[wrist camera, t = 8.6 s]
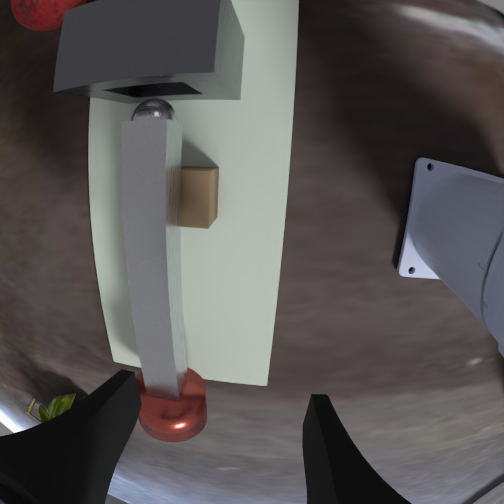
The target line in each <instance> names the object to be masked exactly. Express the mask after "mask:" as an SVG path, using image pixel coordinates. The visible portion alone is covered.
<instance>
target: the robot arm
mask: <svg viewBox="0 0 504 504" xmlns="http://www.w3.org/2000/svg"><path fill="white" fill-rule="evenodd" d="M429 163H430V164H431V169H430V170H428V169H427V165H428V164H429ZM410 267H413V269H412V271H411V272H408V270H409V268H410ZM397 271H398V273H399V274H400V275H401V276H403V277H417V278H431V279H441V280H442V281H443V282H444V283H445V284H446V285H447V286H448V287H449V288H450V289H451V290H452V291H453V293H454V294H455V295H456V296H457V297H458V298H459V299H460V300H461V301H462V302H463V303H464V304H465V305H466V306H467V307H468V308H469V309H470V311H471V312H472V313H473V314H474V315H475V316H476V317H477V318H478V319H479V320H480V322H481V323H482V324H483V325H484V326H485V327H486V328H487V329H488V330H489V332H490V333H491V334H492V335H493V337H494V338H495V339H496V340H497V341H498V344H499V348H498V351H499V352H500V353H501V355H502V356H503V357H504V179H502V178H499V177H496V176H493V175H489V174H486V173H483V172H479V171H475V170H472V169H468V168H464V167H461V166H457V165H453V164H449V163H445V162H440V161H436V160H432V159H427V158H418V159H417V160H416V163H415V169H414V178H413V185H412V192H411V199H410V205H409V211H408V217H407V223H406V228H405V234H404V239H403V244H402V249H401V253H400V258H399V262H398V267H397ZM141 406H142V402H141V398H140V394H139V390H138V386H137V381H136V377H135V373H134V372H131V371H127V370H123V369H121V370H120V371H119V372H117V373H116V374H115V375H114V376H112V377H111V378H110V379H109V380H107V381H106V382H105V383H104V384H102V385H101V386H100V387H99V388H97V389H96V390H95V391H94V392H92V393H91V394H90V395H88V396H87V397H86V398H84V399H83V400H81V401H80V402H79V403H77V404H76V405H74V406H73V407H71V408H70V409H68V410H67V411H65V412H63V413H62V414H60V415H58V416H56V417H54V418H52V419H50V420H48V421H46V422H44V423H41V424H39V425H37V426H34V427H32V428H29V429H26V430H24V431H20V432H17V433H13V434H10V435H5V436H0V504H105V500H106V496H107V492H108V489H109V485H110V482H111V479H112V476H113V473H114V469H115V467H116V465H117V462H118V460H119V458H120V456H121V454H122V452H123V450H124V447H125V445H126V443H127V441H128V439H129V437H130V435H131V433H132V431H133V429H134V427H135V424H136V422H137V419H138V416H139V413H140V409H141ZM302 447H303V457H304V467H305V476H306V486H307V504H411V503H410V502H409V501H407V500H406V499H405V498H403V497H402V496H401V495H400V494H398V493H397V492H396V491H395V490H394V489H393V488H392V487H391V486H390V485H389V484H387V483H386V482H385V481H384V480H383V479H382V478H381V477H380V476H379V475H378V474H377V472H376V471H375V470H374V469H373V468H372V467H371V466H370V464H369V463H368V462H367V461H366V459H365V458H364V457H363V456H362V454H361V453H360V451H359V450H358V449H357V447H356V446H355V444H354V443H353V441H352V440H351V438H350V436H349V435H348V433H347V431H346V430H345V428H344V426H343V425H342V423H341V421H340V419H339V417H338V415H337V414H336V412H335V410H334V408H333V405H332V403H331V401H330V399H329V397H328V396H327V395H323V394H311V398H310V401H309V405H308V409H307V412H306V416H305V419H304V423H303V446H302Z"/></svg>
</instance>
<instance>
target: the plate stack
mask: <svg viewBox="0 0 504 504" xmlns="http://www.w3.org/2000/svg"><path fill="white" fill-rule="evenodd" d="M473 504H504V482H503V483H501V484H500V485H498V486H497V487H495V488H494V489H492V490H491V491H490V492H488V493H487V494H485V495H484V496H482V497H481V498H480V499H478V500H477V501H476V502H474V503H473Z"/></svg>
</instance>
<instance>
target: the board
mask: <svg viewBox="0 0 504 504" xmlns="http://www.w3.org/2000/svg"><path fill="white" fill-rule="evenodd" d="M231 1H232V4H233V7H234V9H235V12H236V15H237V17H238V20H239V23H240V26H241V28H242V31H243V34H244V37H245V41H244V55H243V69H242V84H241V99H240V100H175V101H166V102H168V103H169V104H170V105H171V106H172V107H173V108H174V110H175V112H176V116H177V121H182V122H183V126H182V150H181V166H197V167H219V185H218V213H217V219H216V220H215V221H214V222H213V224H212V225H211V226H210V227H209V229H205V228H191V227H180V230H181V276H182V301H183V320H184V336H185V350H186V363H187V367H188V368H190V369H192V370H194V371H195V372H197V373H198V374H199V375H200V376H201V377H202V379H209V380H216V381H224V382H232V383H241V384H251V385H262V386H267V379H268V372H269V364H270V355H271V347H272V339H273V330H274V322H275V313H276V304H277V295H278V285H279V276H280V266H281V256H282V246H283V235H284V224H285V213H286V202H287V190H288V178H289V165H290V152H291V139H292V124H293V109H294V93H295V75H296V56H297V34H298V8H299V0H231ZM139 104H141V103H131V104H127V103H122V102H116V101H110V100H105V99H98V98H92V97H90V112H89V142H88V166H89V196H90V213H91V226H92V236H93V246H94V255H95V263H96V270H97V277H98V284H99V290H100V296H101V302H102V308H103V313H104V318H105V324H106V328H107V333H108V338H109V342H110V347H111V351H112V355H113V359H114V362H118V363H123V364H127V365H131V366H136V367H141V363H140V358H139V353H138V347H137V341H136V335H135V329H134V323H133V316H132V309H131V301H130V294H129V285H128V276H127V267H126V256H125V244H124V229H123V210H122V173H121V155H122V122H123V121H131V116H132V114H133V112H134V110H135V108H136V107H137V106H138V105H139Z"/></svg>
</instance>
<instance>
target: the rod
mask: <svg viewBox="0 0 504 504" xmlns="http://www.w3.org/2000/svg"><path fill="white" fill-rule="evenodd" d="M182 126H183V122H182V121H177V116H176V112H175V110H174V108H173V107H172V106H171V105H170V104H169V103H168V102H166V101H164V100H162V99H149V100H146V101H144V102H142V103H141V104H139V105H138V106H137V107H136V108H135V110H134V112H133V114H132V116H131V121H123V122H122V155H121V173H122V210H123V229H124V244H125V256H126V267H127V276H128V285H129V294H130V301H131V309H132V316H133V323H134V329H135V335H136V341H137V347H138V353H139V358H140V363H141V368H142V372H141V373H140V374H139V375H138V376H137V377H136V381H137V386H138V390H139V394H140V398H141V402H142V406H141V409H140V413H139V416H138V418H139V421H140V424H141V426H142V428H143V429H144V430H145V431H146V432H147V433H148V434H149V435H150V436H152V437H154V438H156V439H158V440H161V441H166V442H180V441H185V440H188V439H191V438H193V437H194V436H196V435H197V434H199V433H200V432H201V431H202V429H203V428H204V426H205V424H206V422H207V405H206V387H205V383H204V380H203V379H202V377H201V376H200V375H199V374H198V373H197V372H195V371H194V370H192V369H190V368H188V367H187V363H186V350H185V336H184V320H183V301H182V276H181V230H180V196H181V150H182Z"/></svg>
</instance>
